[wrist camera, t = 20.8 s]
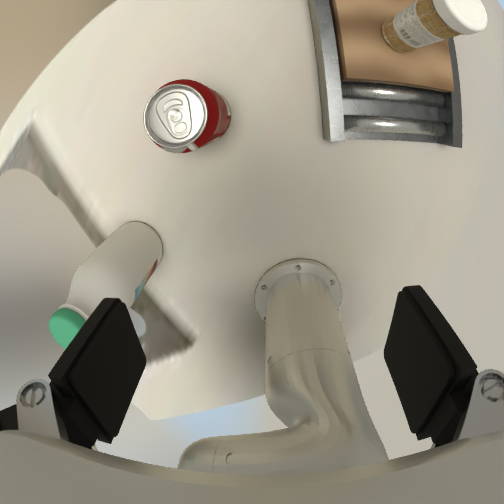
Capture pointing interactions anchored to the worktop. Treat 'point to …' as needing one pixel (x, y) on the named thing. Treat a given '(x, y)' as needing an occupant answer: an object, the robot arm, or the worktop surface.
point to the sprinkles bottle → (433, 23)
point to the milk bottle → (108, 277)
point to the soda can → (186, 116)
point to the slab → (385, 48)
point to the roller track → (374, 106)
